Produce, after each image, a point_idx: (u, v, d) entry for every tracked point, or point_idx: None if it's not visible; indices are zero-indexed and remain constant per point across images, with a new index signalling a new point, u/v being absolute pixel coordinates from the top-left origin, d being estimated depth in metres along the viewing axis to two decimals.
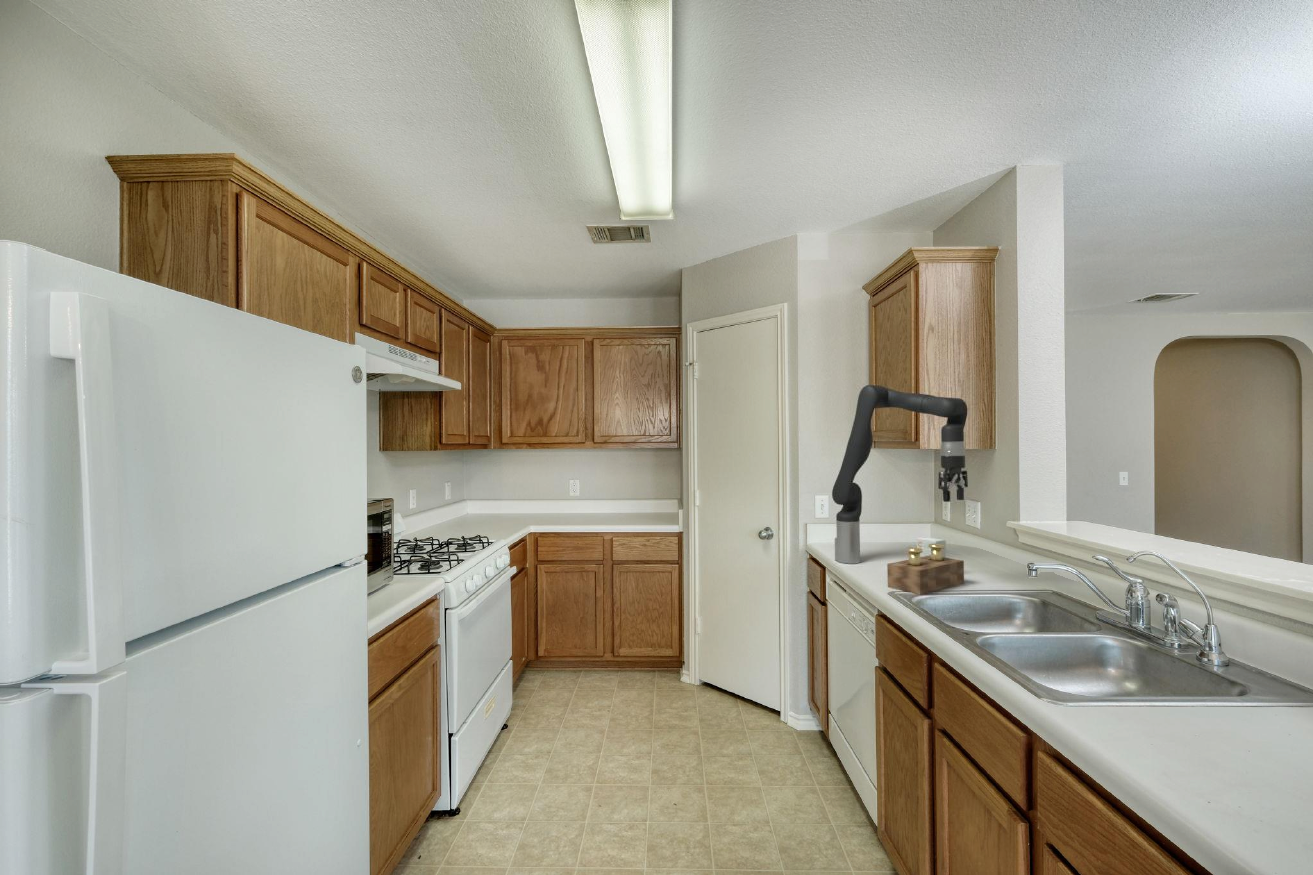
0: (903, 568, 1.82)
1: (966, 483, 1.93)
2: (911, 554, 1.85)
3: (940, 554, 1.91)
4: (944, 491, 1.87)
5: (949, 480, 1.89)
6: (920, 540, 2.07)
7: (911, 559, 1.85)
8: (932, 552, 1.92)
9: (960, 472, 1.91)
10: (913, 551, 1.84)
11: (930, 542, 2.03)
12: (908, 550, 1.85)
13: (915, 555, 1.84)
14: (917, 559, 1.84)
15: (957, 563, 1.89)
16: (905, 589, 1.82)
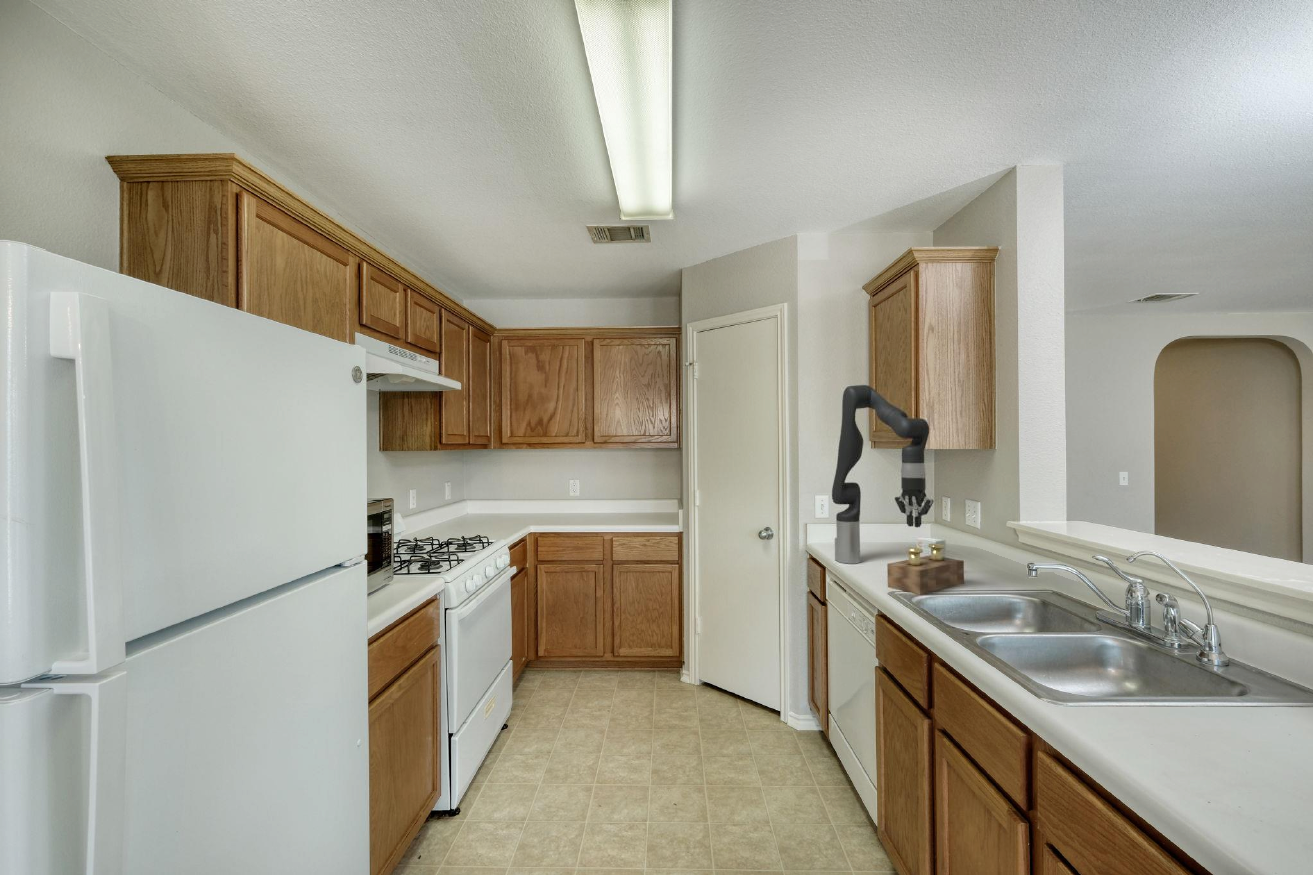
0: (903, 568, 1.82)
1: None
2: (911, 554, 1.85)
3: (940, 554, 1.91)
4: (919, 517, 1.84)
5: None
6: (920, 540, 2.07)
7: (911, 559, 1.85)
8: (932, 552, 1.92)
9: None
10: (913, 551, 1.84)
11: (930, 542, 2.03)
12: (908, 550, 1.85)
13: (915, 555, 1.84)
14: (917, 559, 1.84)
15: (957, 563, 1.89)
16: (905, 589, 1.82)
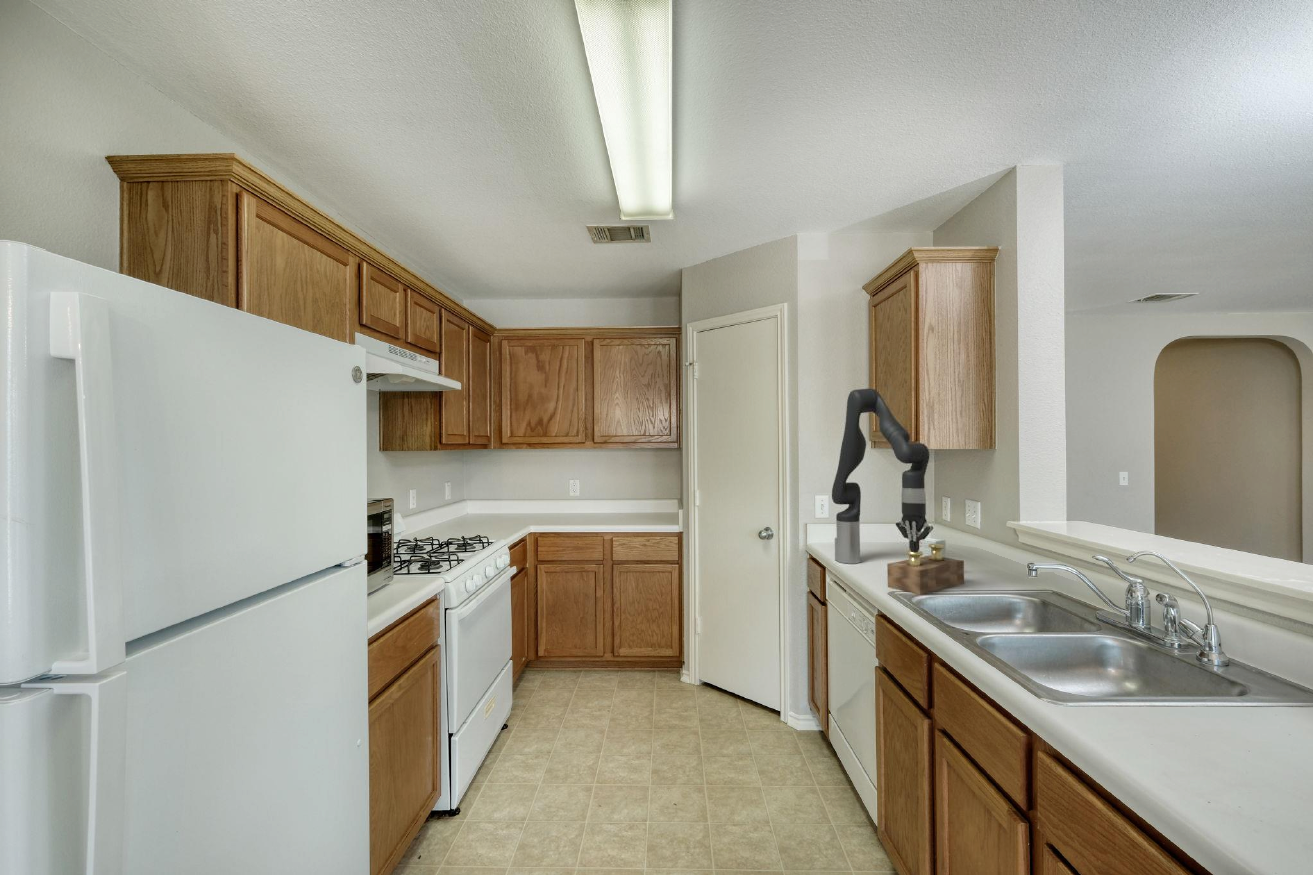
0: (903, 568, 1.82)
1: None
2: (911, 557, 1.85)
3: (940, 554, 1.91)
4: (917, 541, 1.85)
5: None
6: (920, 540, 2.07)
7: (911, 562, 1.85)
8: (932, 552, 1.92)
9: None
10: (913, 554, 1.84)
11: (930, 542, 2.03)
12: (908, 553, 1.85)
13: (915, 558, 1.84)
14: (917, 562, 1.84)
15: (957, 563, 1.89)
16: (905, 589, 1.82)
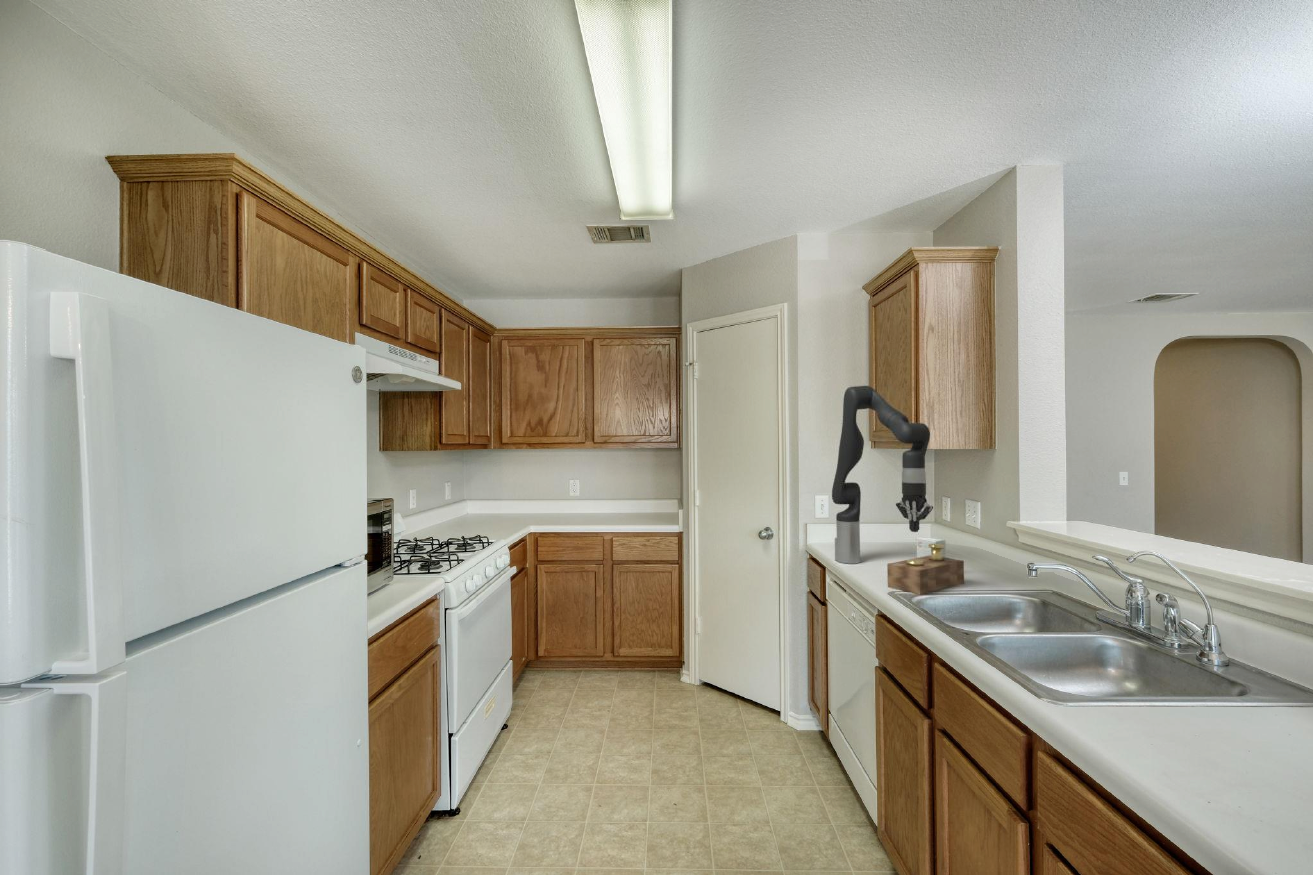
0: (903, 568, 1.82)
1: None
2: None
3: (940, 554, 1.91)
4: (917, 521, 1.85)
5: None
6: (920, 540, 2.07)
7: None
8: (932, 552, 1.92)
9: None
10: (913, 564, 1.84)
11: (930, 542, 2.03)
12: (908, 562, 1.85)
13: None
14: None
15: (957, 563, 1.89)
16: (905, 589, 1.82)
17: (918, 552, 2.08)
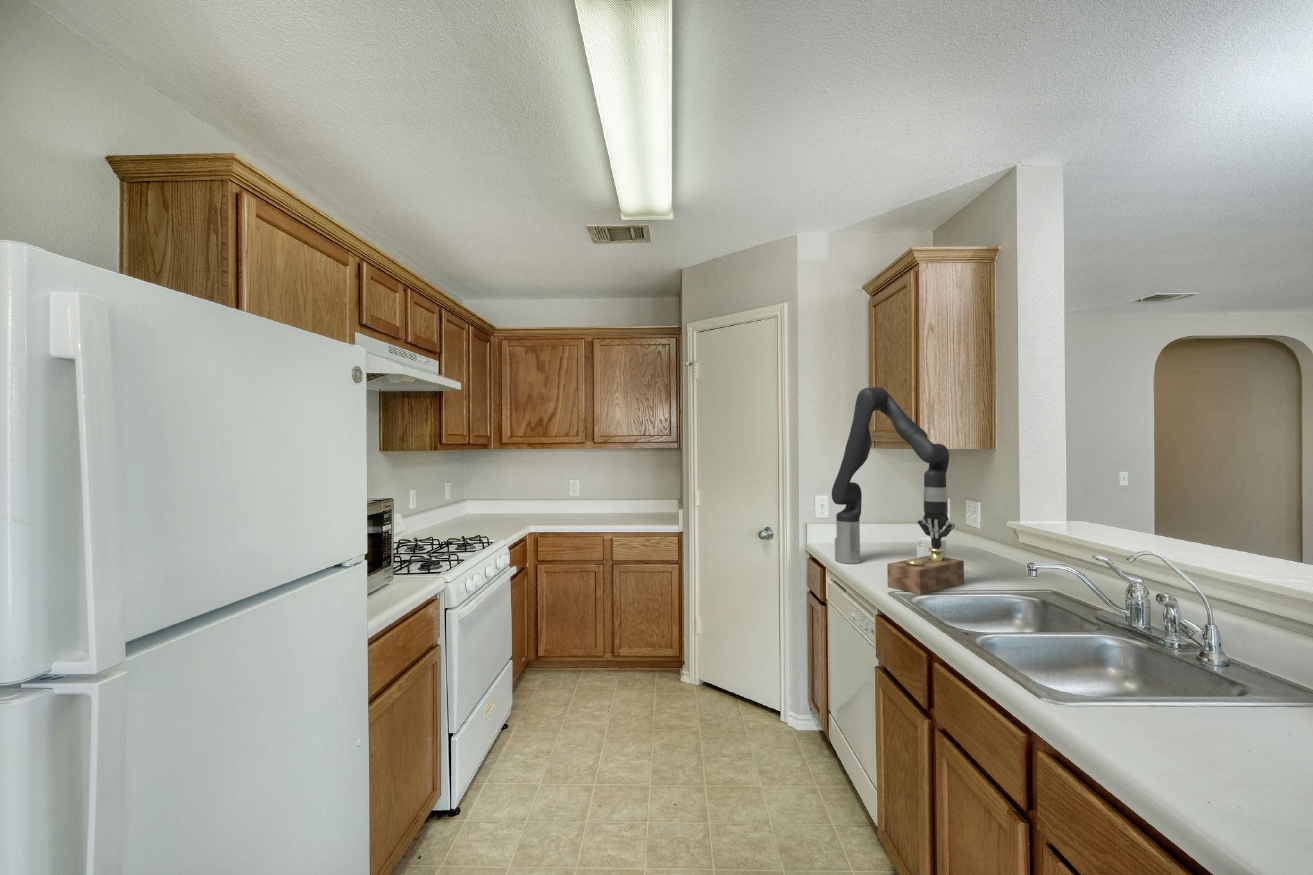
0: (903, 568, 1.82)
1: None
2: None
3: (940, 558, 1.91)
4: (939, 539, 1.92)
5: None
6: (920, 540, 2.07)
7: None
8: (932, 556, 1.92)
9: None
10: (913, 564, 1.84)
11: (930, 542, 2.03)
12: (908, 562, 1.85)
13: None
14: None
15: (957, 563, 1.89)
16: (905, 589, 1.82)
17: (918, 552, 2.08)
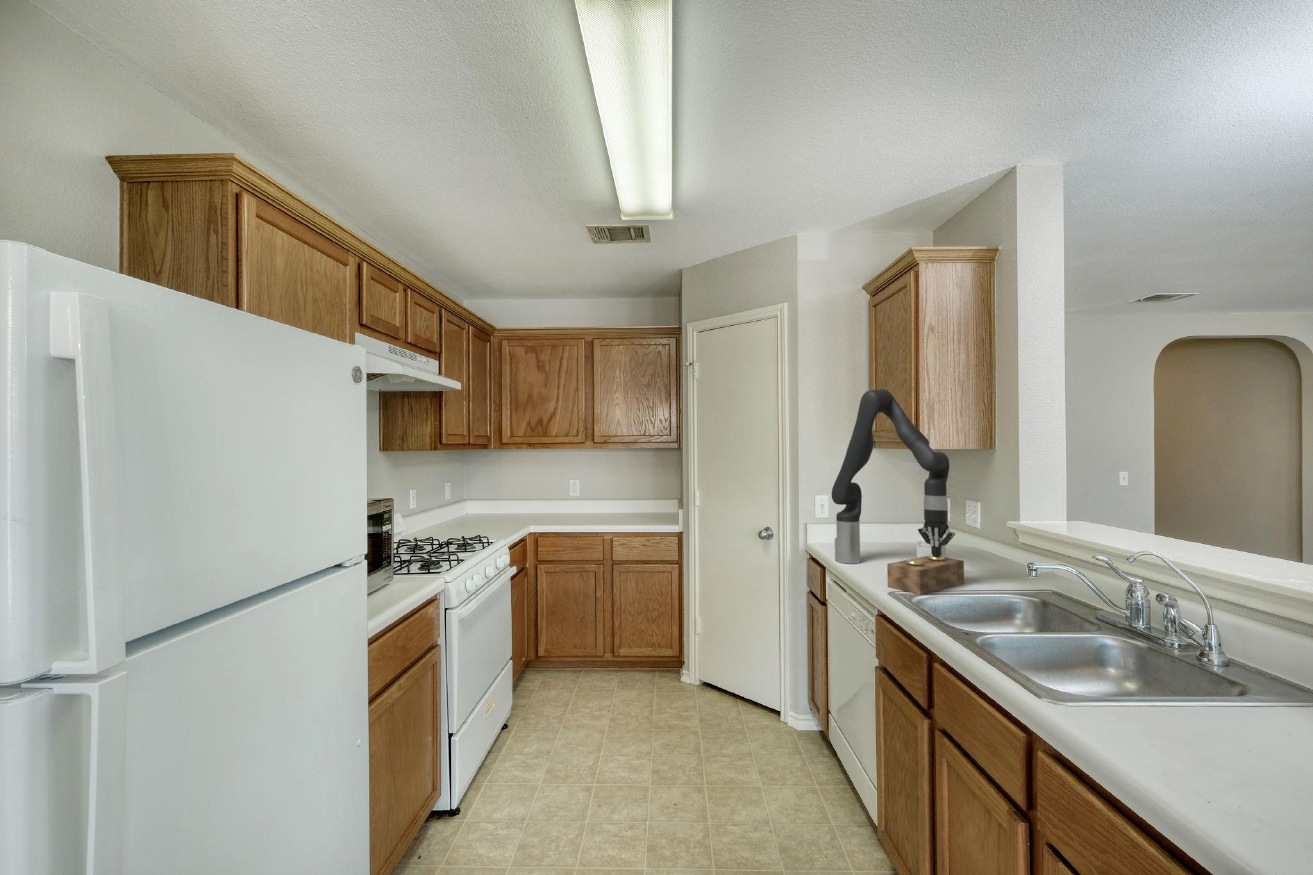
0: (903, 568, 1.82)
1: None
2: None
3: None
4: (940, 547, 1.91)
5: None
6: (920, 540, 2.07)
7: None
8: None
9: None
10: (913, 564, 1.84)
11: None
12: (908, 562, 1.85)
13: None
14: None
15: (957, 563, 1.89)
16: (905, 589, 1.82)
17: (918, 552, 2.08)
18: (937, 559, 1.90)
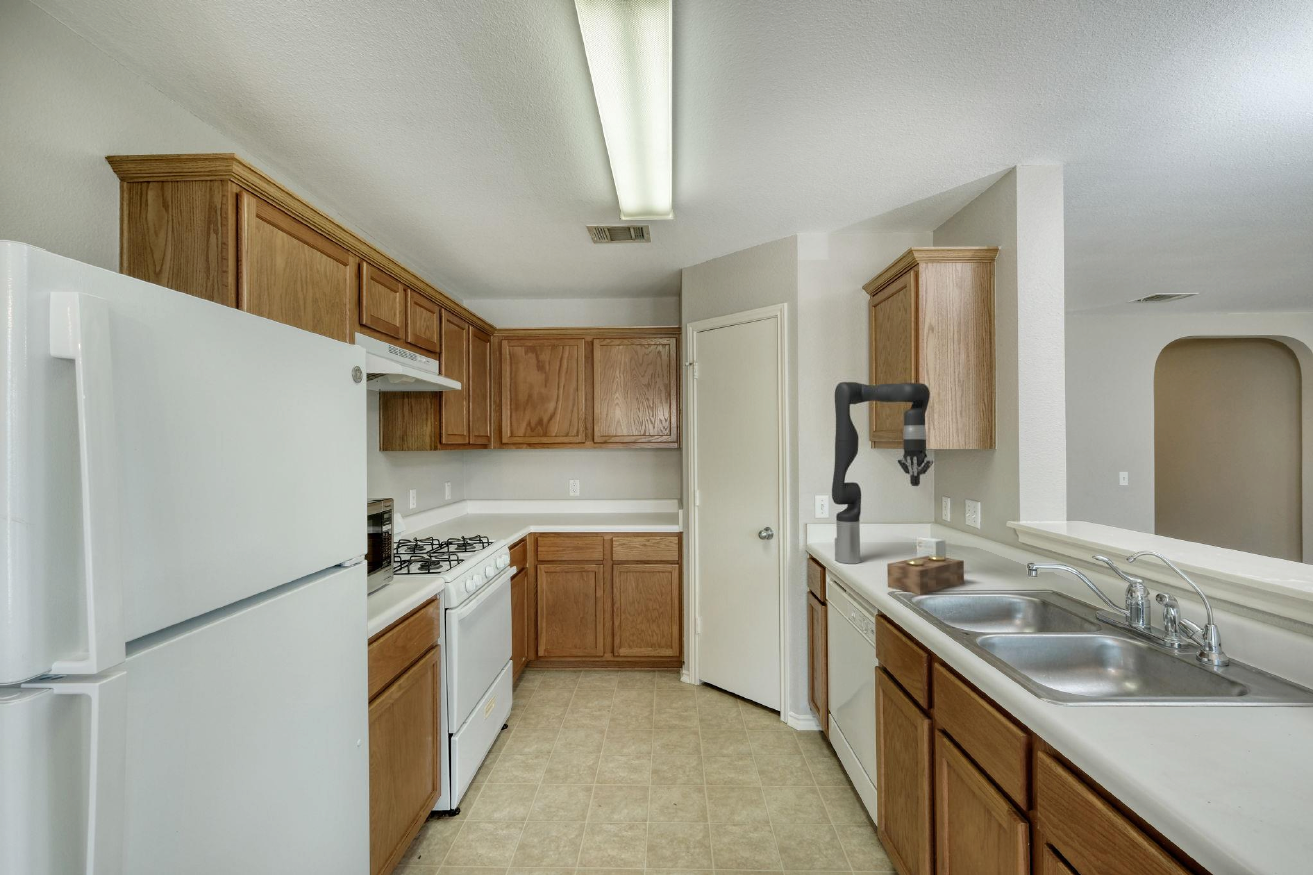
0: (903, 568, 1.82)
1: None
2: None
3: None
4: (918, 476, 1.95)
5: None
6: (920, 540, 2.07)
7: None
8: None
9: None
10: (913, 564, 1.84)
11: (930, 542, 2.03)
12: (908, 562, 1.85)
13: None
14: None
15: (957, 563, 1.89)
16: (905, 589, 1.82)
17: (918, 552, 2.08)
18: (937, 559, 1.90)
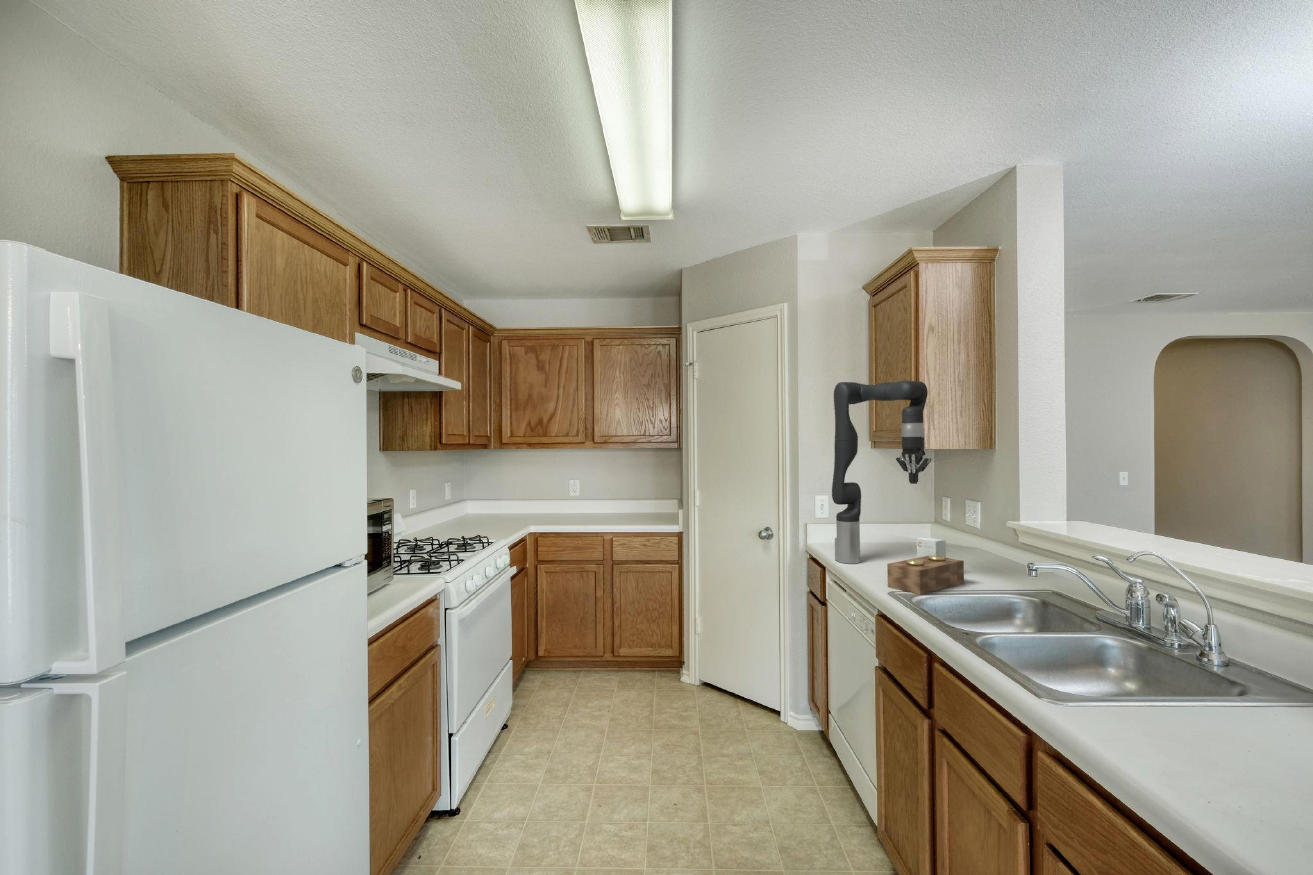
0: (903, 568, 1.82)
1: None
2: None
3: None
4: (917, 473, 1.95)
5: None
6: (920, 540, 2.07)
7: None
8: None
9: None
10: (913, 564, 1.84)
11: (930, 542, 2.03)
12: (908, 562, 1.85)
13: None
14: None
15: (957, 563, 1.89)
16: (905, 589, 1.82)
17: (918, 552, 2.08)
18: (937, 559, 1.90)
